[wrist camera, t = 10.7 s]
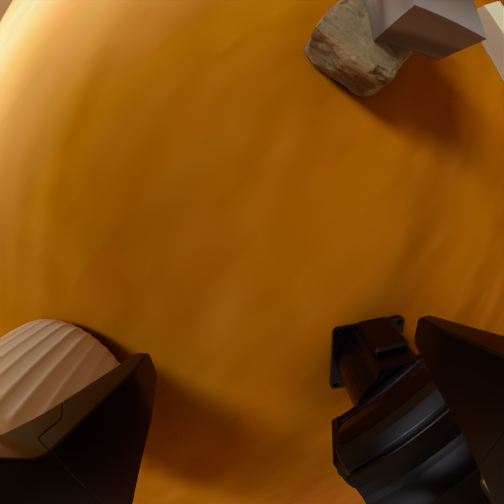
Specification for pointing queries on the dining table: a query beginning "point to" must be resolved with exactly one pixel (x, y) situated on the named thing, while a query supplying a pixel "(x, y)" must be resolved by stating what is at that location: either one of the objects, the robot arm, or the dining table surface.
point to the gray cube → (426, 25)
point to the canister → (46, 368)
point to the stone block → (353, 50)
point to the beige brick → (494, 33)
